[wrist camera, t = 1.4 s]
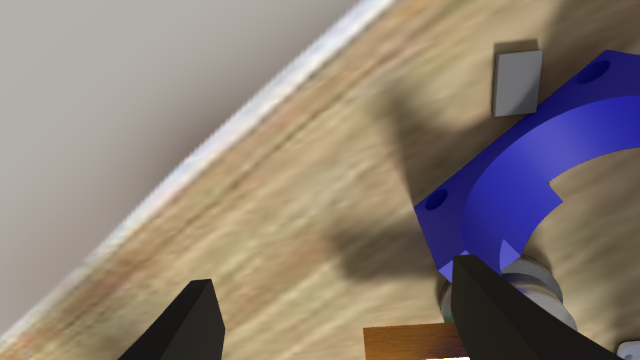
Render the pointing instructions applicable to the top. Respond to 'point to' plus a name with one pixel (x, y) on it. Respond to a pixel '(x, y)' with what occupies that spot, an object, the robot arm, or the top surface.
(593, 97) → the cable clip
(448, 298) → the dial housing
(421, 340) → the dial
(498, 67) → the grey block
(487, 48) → the top surface
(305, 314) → the top surface
